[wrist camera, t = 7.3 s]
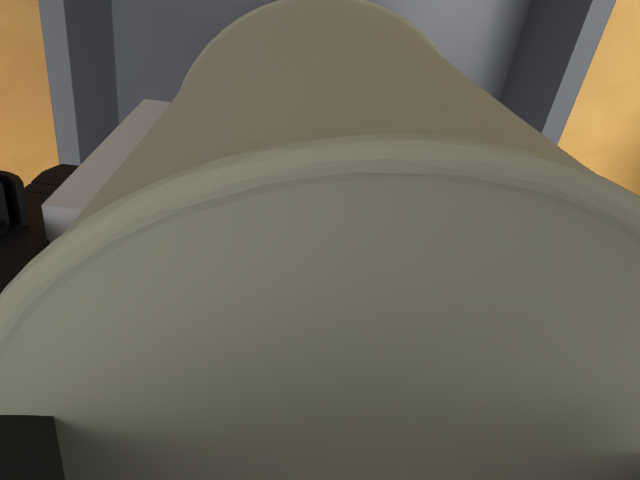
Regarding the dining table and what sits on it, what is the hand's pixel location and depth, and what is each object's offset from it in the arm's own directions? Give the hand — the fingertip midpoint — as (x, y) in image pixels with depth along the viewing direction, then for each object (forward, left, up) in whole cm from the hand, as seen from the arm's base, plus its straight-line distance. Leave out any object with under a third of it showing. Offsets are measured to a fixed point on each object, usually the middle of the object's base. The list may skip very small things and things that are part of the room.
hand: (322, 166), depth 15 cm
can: (0, 0, -1) cm, 1 cm away
